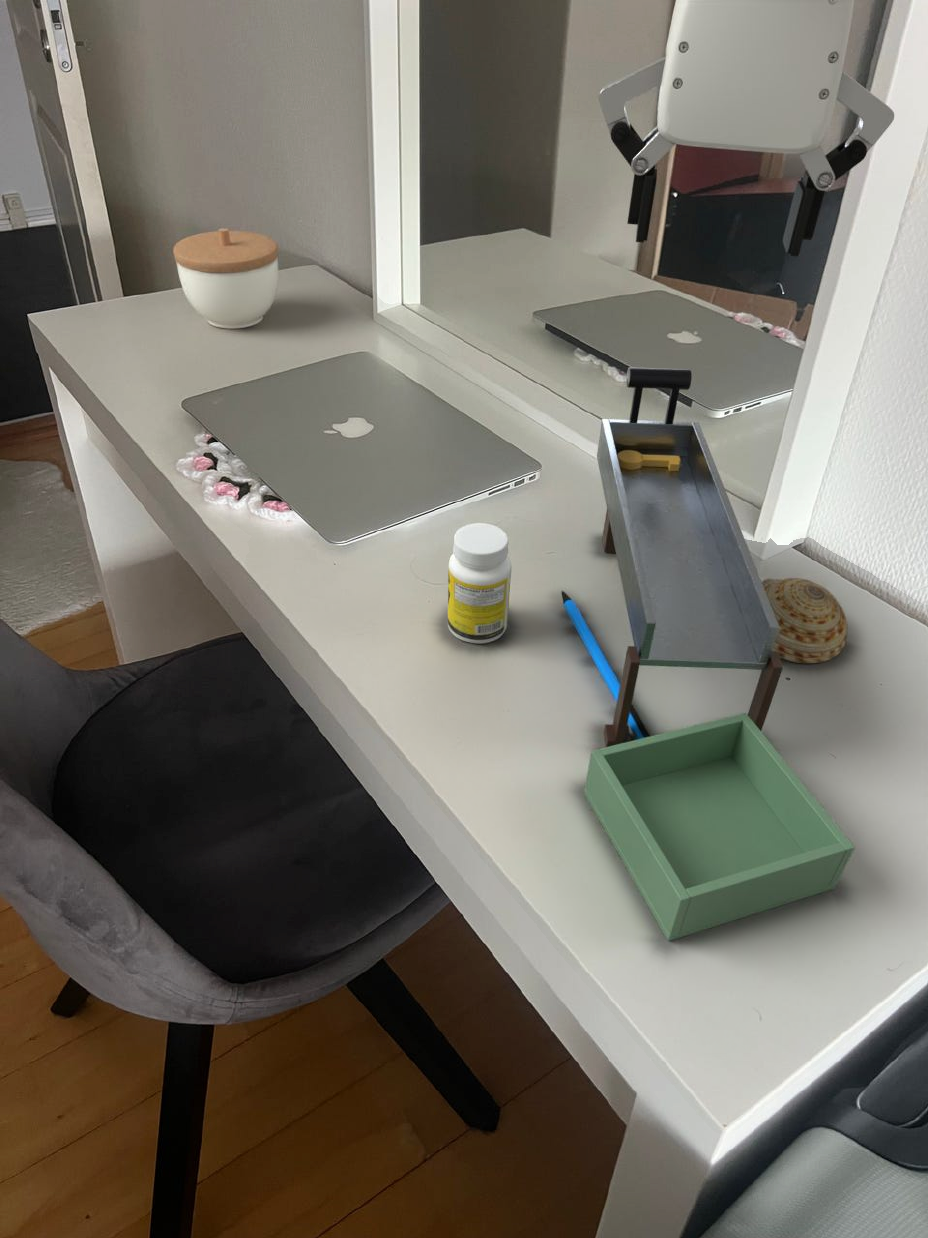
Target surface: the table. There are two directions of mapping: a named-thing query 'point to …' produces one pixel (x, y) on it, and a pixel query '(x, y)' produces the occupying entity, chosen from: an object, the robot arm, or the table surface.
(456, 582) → the supplement bottle
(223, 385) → the table surface
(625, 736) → the stand
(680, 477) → the trough
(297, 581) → the table surface
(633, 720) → the pen
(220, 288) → the lidded bowl
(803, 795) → the bin
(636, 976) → the table surface
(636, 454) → the key
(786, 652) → the seashell
